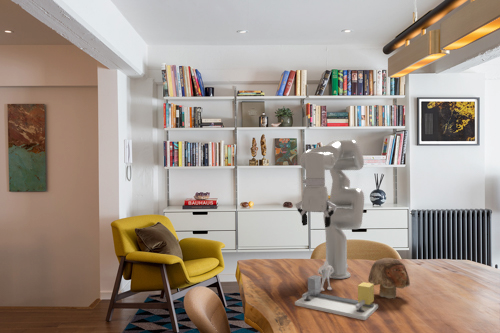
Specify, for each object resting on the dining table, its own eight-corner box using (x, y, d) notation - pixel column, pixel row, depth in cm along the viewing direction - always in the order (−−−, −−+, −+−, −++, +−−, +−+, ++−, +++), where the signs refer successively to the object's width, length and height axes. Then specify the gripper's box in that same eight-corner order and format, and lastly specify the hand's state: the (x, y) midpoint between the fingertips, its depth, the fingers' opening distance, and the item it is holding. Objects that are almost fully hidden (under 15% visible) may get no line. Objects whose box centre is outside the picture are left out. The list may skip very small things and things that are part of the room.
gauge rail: (311, 293, 152) (311, 274, 152) (375, 305, 137) (375, 284, 137) (297, 301, 142) (297, 281, 142) (364, 315, 128) (364, 293, 128)
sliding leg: (362, 302, 140) (362, 282, 140) (374, 304, 138) (373, 283, 138) (351, 311, 131) (351, 290, 131) (363, 314, 128) (362, 292, 128)
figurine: (331, 287, 163) (330, 258, 163) (336, 290, 159) (336, 261, 159) (315, 289, 160) (315, 260, 160) (320, 292, 156) (320, 262, 156)
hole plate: (311, 294, 153) (311, 291, 153) (378, 307, 138) (378, 304, 138) (295, 305, 142) (294, 301, 142) (365, 320, 127) (365, 316, 127)
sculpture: (391, 306, 139) (390, 264, 139) (359, 294, 153) (359, 256, 153) (419, 299, 146) (419, 260, 146) (387, 288, 160) (387, 252, 160)
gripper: (291, 183, 156) (292, 225, 156) (332, 183, 146) (333, 229, 146) (299, 182, 162) (300, 223, 162) (339, 182, 153) (340, 226, 153)
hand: (316, 225), depth 154 cm, fingers open, 9 cm apart
